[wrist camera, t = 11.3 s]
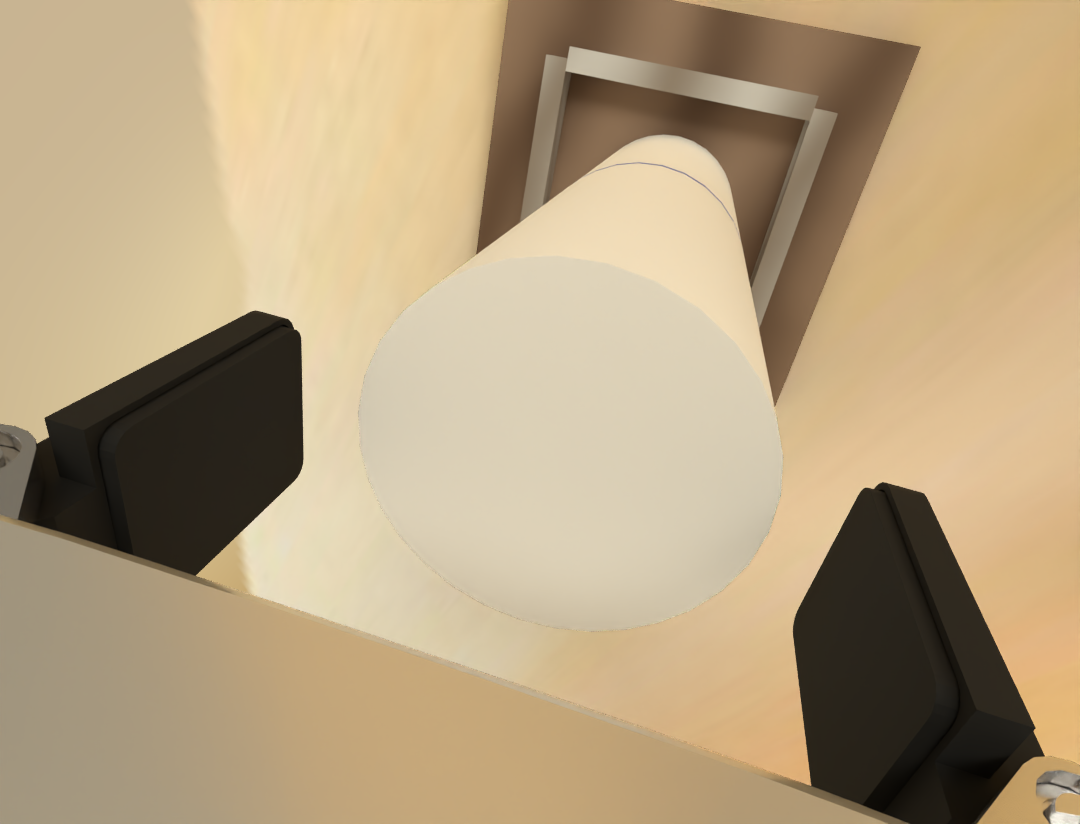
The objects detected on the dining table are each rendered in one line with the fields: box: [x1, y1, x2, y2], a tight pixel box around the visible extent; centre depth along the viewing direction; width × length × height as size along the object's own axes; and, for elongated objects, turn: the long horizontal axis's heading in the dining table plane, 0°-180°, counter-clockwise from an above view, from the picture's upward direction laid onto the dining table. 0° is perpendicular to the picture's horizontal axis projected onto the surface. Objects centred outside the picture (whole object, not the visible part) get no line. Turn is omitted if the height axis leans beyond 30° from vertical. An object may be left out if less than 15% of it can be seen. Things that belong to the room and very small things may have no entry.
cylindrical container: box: [358, 134, 783, 632], centre depth 22 cm, size 7×7×25 cm
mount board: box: [476, 0, 921, 407], centre depth 32 cm, size 18×18×3 cm
